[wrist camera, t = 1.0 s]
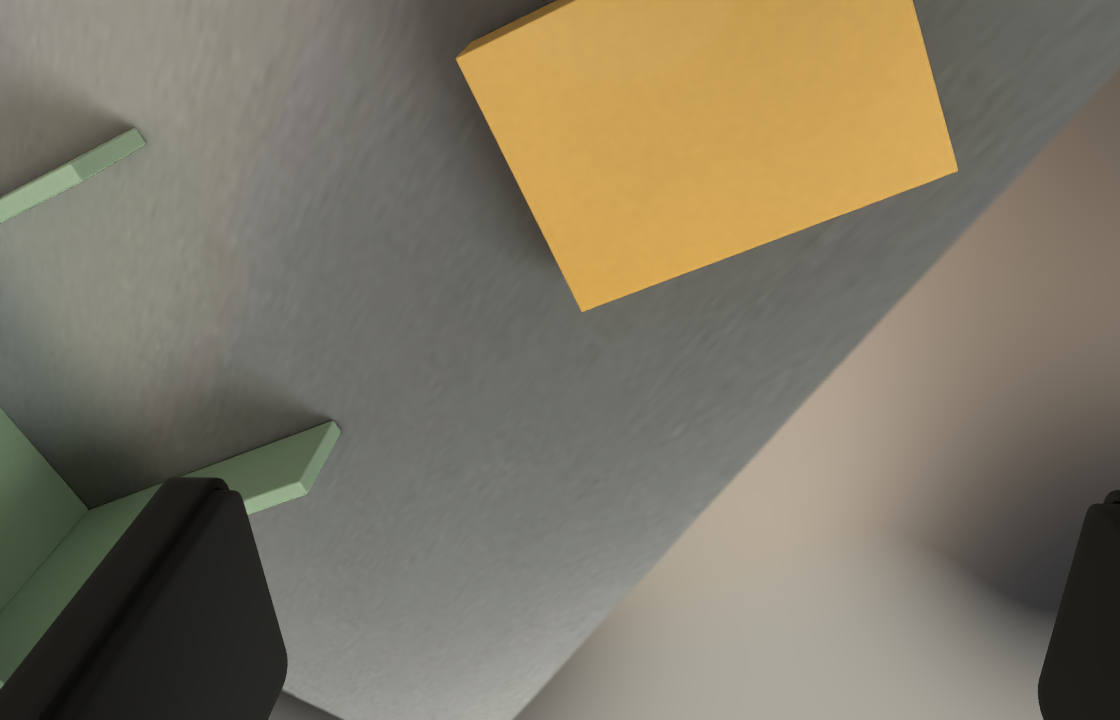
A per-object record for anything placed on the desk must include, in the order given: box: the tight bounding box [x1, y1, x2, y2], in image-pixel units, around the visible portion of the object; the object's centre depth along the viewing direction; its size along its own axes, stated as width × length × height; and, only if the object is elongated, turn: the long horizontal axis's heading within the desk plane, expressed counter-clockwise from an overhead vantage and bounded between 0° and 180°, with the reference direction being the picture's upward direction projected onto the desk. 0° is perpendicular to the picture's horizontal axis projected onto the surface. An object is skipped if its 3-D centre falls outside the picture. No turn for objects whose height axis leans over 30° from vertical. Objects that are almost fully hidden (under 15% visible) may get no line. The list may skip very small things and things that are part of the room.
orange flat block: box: [456, 0, 958, 312], centre depth 34 cm, size 15×11×3 cm
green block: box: [0, 128, 341, 689], centre depth 38 cm, size 17×17×14 cm
